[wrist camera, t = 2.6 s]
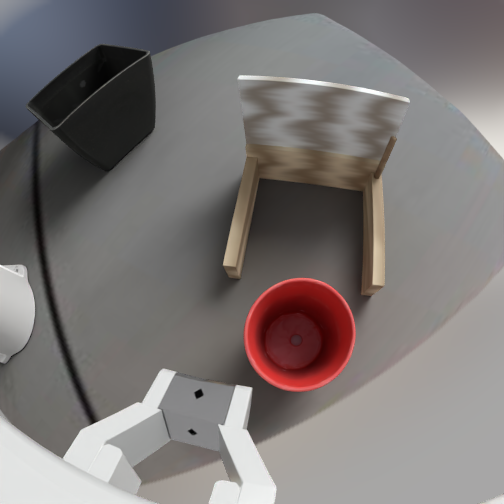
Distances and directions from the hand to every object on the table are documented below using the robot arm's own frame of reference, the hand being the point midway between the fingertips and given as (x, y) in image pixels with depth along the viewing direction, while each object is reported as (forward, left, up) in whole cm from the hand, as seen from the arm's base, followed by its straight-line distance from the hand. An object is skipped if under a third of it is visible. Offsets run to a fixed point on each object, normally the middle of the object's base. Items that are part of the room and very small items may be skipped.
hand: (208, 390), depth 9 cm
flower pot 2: (+4, +4, -28) cm, 28 cm away
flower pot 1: (-34, +35, -28) cm, 56 cm away
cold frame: (+4, +19, -27) cm, 34 cm away
